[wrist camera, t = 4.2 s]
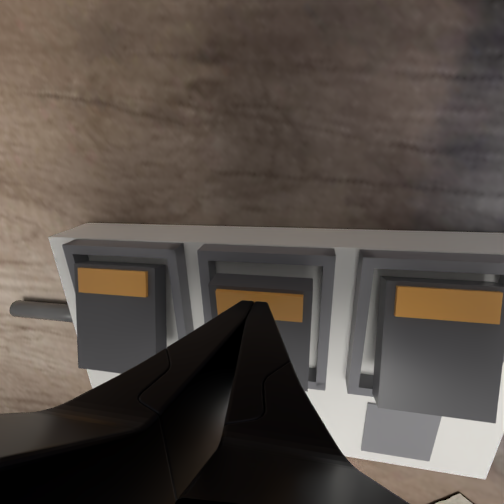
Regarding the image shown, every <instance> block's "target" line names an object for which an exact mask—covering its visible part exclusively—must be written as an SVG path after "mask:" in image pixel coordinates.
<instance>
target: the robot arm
mask: <svg viewBox="0 0 504 504" xmlns="http://www.w3.org/2000/svg"><path fill="white" fill-rule="evenodd" d="M0 504H409V503H408V502H406V501H405V500H403V499H402V498H400V497H399V496H397V495H395V494H394V493H392V492H391V491H389V490H388V489H386V488H385V487H383V486H382V485H380V484H379V483H377V482H376V481H374V480H372V479H371V478H369V477H368V476H366V475H365V474H363V473H362V472H360V471H359V470H357V469H356V468H355V467H354V466H353V465H352V464H351V463H350V462H349V461H348V460H347V459H346V457H345V456H344V455H343V453H342V452H341V450H340V449H339V447H338V446H337V444H336V443H335V441H334V439H333V438H332V436H331V434H330V433H329V431H328V429H327V428H326V426H325V424H324V423H323V421H322V420H321V418H320V416H319V415H318V413H317V411H316V410H315V408H314V406H313V405H312V403H311V401H310V400H309V398H308V396H307V394H306V392H305V391H304V389H303V387H302V385H301V383H300V381H299V378H298V376H297V374H296V372H295V369H294V367H293V364H292V363H291V360H290V357H289V355H288V352H287V350H286V347H285V345H284V342H283V340H282V337H281V335H280V332H279V330H278V327H277V324H276V322H275V319H274V317H273V314H272V312H271V309H270V307H269V304H268V303H267V302H261V301H256V302H255V303H254V301H247V300H242V301H240V302H238V303H237V304H235V305H234V306H232V307H230V308H229V309H227V310H226V311H224V312H222V313H221V314H219V315H218V316H216V317H214V318H213V319H211V320H210V321H208V322H206V323H205V324H203V325H202V326H200V327H198V328H197V329H195V330H194V331H192V332H190V333H189V334H187V335H186V336H184V337H182V338H181V339H179V340H178V341H176V342H174V343H173V344H171V345H170V346H168V347H167V349H166V348H165V349H163V350H162V351H160V352H158V353H157V354H155V355H153V356H152V357H150V358H148V359H147V360H145V361H143V362H142V363H140V364H138V365H137V366H135V367H133V368H131V369H129V370H127V371H126V372H124V373H122V374H120V375H118V376H116V377H114V378H112V379H110V380H109V381H107V382H105V383H103V384H101V385H99V386H97V387H95V388H93V389H91V390H89V391H88V392H86V393H84V394H82V395H80V396H78V397H76V398H74V399H72V400H70V401H68V402H66V403H64V404H62V405H59V406H56V407H54V408H50V409H47V410H43V411H37V412H30V413H7V414H0Z"/></svg>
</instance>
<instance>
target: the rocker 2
mask: <svg viewBox="0 0 504 504" xmlns="http://www.w3.org/2000/svg"><path fill="white" fill-rule="evenodd" d="M503 356H504V285H502V284H499V283H496V282H488V281H469V280H450V279H431V278H412V277H393V276H380V286H379V301H378V316H377V331H376V345H375V360H374V375H373V390H372V394H373V396H374V399H375V402H376V404H377V407H378V408H383V409H390V410H398V411H405V412H413V413H420V414H428V415H435V416H443V417H451V418H458V419H466V420H473V421H481V422H488V423H496V417H497V408H498V399H499V390H500V382H501V373H502V364H503Z"/></svg>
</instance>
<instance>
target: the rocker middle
mask: <svg viewBox="0 0 504 504" xmlns="http://www.w3.org/2000/svg"><path fill="white" fill-rule="evenodd" d="M208 287H209V296H210V306H211V315H212V319H213V318H214V317H216V316H218V315H219V314H221V313H222V312H224V311H226V310H227V309H229V308H230V307H232V306H234V305H235V304H237V303H238V302H240V301H242V300H247V301H254V303H255V302H256V301H261V302H267V303H268V304H269V307H270V309H271V312H272V314H273V317H274V319H275V322H276V324H277V327H278V330H279V332H280V335H281V337H282V340H283V342H284V345H285V347H286V350H287V352H288V355H289V357H290V360H291V363H292V364H293V367H294V369H295V372H296V374H297V376H298V378H299V381H300V383H301V385H302V387H303V389H304V391H307V392H308V374H309V355H310V336H311V317H312V298H313V278H298V277H280V276H263V275H245V274H227V273H215V275H214V277H213V278H212V280H211V281H210V283H209V284H208Z"/></svg>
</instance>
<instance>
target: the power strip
mask: <svg viewBox="0 0 504 504" xmlns="http://www.w3.org/2000/svg"><path fill="white" fill-rule="evenodd" d="M48 238H49V241H50V245H51V248H52V252H53V255H54V259H55V262H56V266H57V269H58V272H59V276H60V279H61V283H62V286H63V290H64V293H65V297H66V300H67V303H68V304H57V303H45V302H33V301H22V300H18V301H15V302H14V303H13V304H12V305H11V307H10V314H11V315H12V316H15V317H24V318H35V319H45V320H55V321H65V322H73V324H74V328H75V331H76V334H77V319H76V295H75V272H74V263H79V262H85V261H107V262H126V263H145V264H164V265H166V327H167V347H168V346H170V345H171V344H173V343H174V342H176V341H178V340H179V339H181V338H182V337H184V336H186V335H187V334H189V333H190V332H192V331H194V330H195V329H197V328H198V327H200V326H202V325H203V324H205V323H206V322H208V321H210V320H211V319H212V315H211V306H210V296H209V287H208V284H209V283H210V281H211V280H212V278H213V277H214V275H215V273H227V274H245V275H263V276H280V277H298V278H313V298H312V317H311V336H310V355H309V374H308V392H307V391H305V392H306V394H307V396H308V398H309V400H310V401H311V403H312V405H313V406H314V408H315V410H316V411H317V413H318V415H319V416H320V418H321V420H322V421H323V423H324V424H325V426H326V428H327V429H328V431H329V433H330V434H331V436H332V438H333V439H334V441H335V443H336V444H337V446H338V447H339V449H340V450H341V452H342V453H343V455H344V456H347V457H353V458H360V459H366V460H372V461H378V462H384V463H390V464H396V465H402V466H408V467H414V468H420V469H426V470H432V471H438V472H444V473H450V474H456V475H462V476H468V477H474V478H480V479H486V477H487V474H488V472H489V469H490V467H491V464H492V462H493V459H494V456H495V454H496V451H497V449H498V446H499V444H500V441H501V438H502V436H503V433H504V356H503V364H502V373H501V382H500V390H499V399H498V408H497V417H496V423H488V422H481V421H473V420H466V419H458V418H451V417H443V416H435V415H428V414H420V413H413V412H405V411H398V410H390V409H383V408H378V407H377V404H376V402H375V399H374V396H373V394H372V390H373V375H374V360H375V345H376V331H377V316H378V301H379V286H380V276H393V277H412V278H431V279H450V280H469V281H488V282H496V283H499V284H502V285H504V233H490V232H449V231H408V230H367V229H326V228H285V227H244V226H202V225H161V224H120V223H85V224H82V225H80V226H77V227H74V228H71V229H69V230H66V231H63V232H60V233H58V234H55V235H52V236H49V237H48ZM87 372H88V376H89V379H90V383H91V386H92V389H93V388H95V387H97V386H99V385H101V384H103V383H105V382H107V381H109V380H110V379H112V378H114V377H116V376H118V375H120V373H113V372H105V371H98V370H90V369H87Z"/></svg>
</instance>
